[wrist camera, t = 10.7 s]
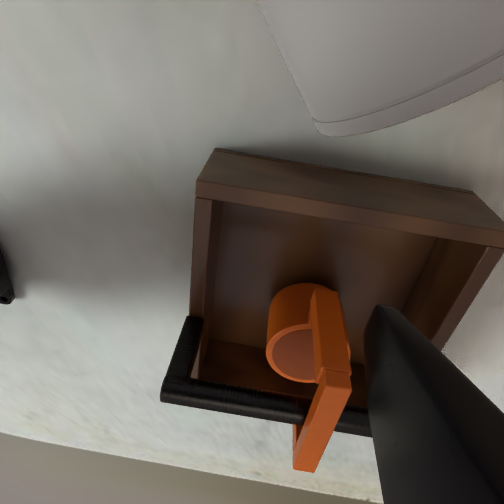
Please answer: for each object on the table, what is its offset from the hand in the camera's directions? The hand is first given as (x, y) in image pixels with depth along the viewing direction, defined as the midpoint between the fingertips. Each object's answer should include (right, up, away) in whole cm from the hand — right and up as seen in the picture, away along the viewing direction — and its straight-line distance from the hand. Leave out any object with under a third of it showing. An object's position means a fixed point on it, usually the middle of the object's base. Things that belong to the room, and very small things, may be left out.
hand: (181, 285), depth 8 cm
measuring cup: (+5, -3, +14) cm, 15 cm away
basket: (+5, -1, +14) cm, 15 cm away
